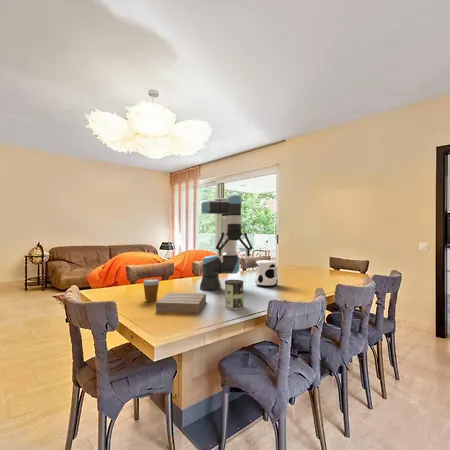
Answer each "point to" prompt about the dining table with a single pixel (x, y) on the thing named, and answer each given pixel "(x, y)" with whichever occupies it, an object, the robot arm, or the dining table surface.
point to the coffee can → (234, 294)
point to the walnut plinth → (181, 302)
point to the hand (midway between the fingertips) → (234, 262)
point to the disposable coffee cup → (151, 289)
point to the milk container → (266, 273)
